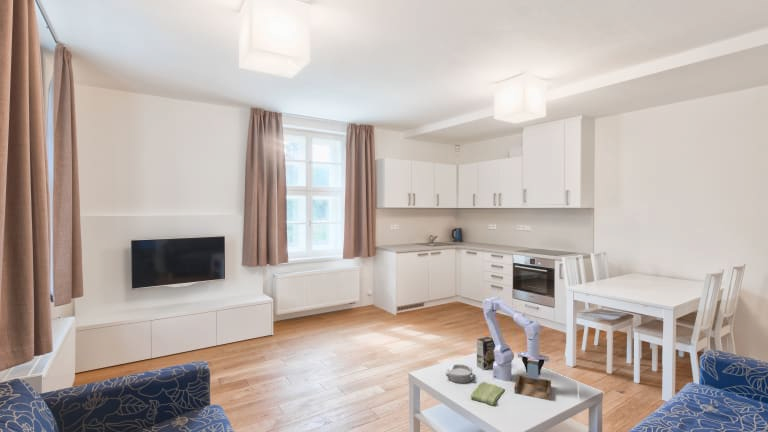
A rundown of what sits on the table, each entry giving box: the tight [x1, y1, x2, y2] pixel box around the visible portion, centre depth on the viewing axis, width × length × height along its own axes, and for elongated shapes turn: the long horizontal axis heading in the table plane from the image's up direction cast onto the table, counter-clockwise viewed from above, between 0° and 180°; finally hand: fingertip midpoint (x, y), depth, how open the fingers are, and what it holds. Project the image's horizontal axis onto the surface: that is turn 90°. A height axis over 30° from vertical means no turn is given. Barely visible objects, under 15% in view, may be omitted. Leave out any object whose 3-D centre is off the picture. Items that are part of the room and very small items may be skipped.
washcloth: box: [470, 381, 506, 407], centre depth 186 cm, size 13×18×3 cm
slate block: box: [526, 359, 540, 379], centre depth 188 cm, size 5×5×7 cm
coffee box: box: [476, 336, 496, 371], centre depth 218 cm, size 9×6×16 cm
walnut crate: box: [514, 374, 552, 401], centre depth 188 cm, size 16×14×4 cm
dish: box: [445, 363, 474, 384], centre depth 204 cm, size 14×14×5 cm
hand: (533, 373), depth 189 cm, fingers closed on slate block, 5 cm apart
